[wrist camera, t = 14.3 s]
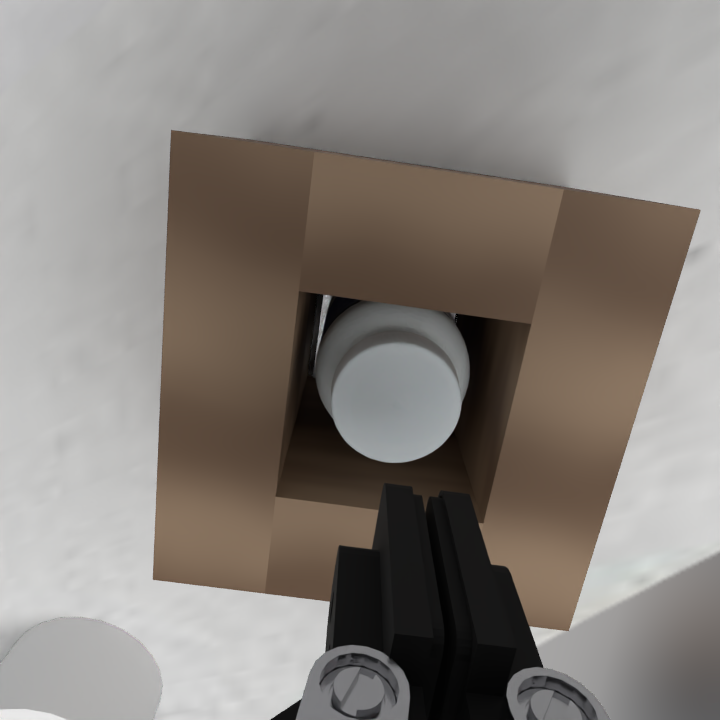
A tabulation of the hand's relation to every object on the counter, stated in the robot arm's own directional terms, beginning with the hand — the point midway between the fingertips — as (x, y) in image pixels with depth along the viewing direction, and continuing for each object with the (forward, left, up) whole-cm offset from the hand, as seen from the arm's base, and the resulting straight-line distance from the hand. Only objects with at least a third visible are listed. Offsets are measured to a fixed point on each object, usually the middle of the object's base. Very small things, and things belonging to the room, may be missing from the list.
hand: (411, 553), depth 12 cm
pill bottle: (0, 0, -17) cm, 17 cm away
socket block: (0, 0, -18) cm, 18 cm away
